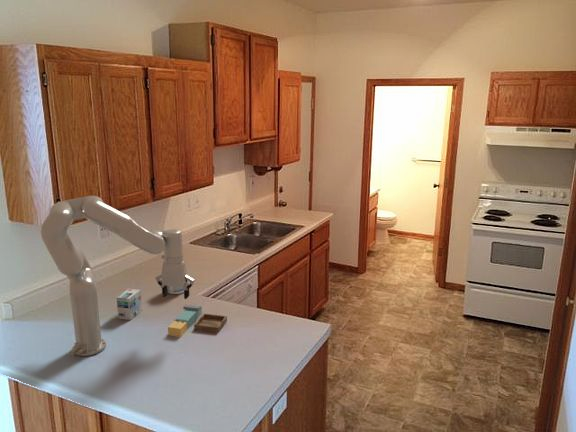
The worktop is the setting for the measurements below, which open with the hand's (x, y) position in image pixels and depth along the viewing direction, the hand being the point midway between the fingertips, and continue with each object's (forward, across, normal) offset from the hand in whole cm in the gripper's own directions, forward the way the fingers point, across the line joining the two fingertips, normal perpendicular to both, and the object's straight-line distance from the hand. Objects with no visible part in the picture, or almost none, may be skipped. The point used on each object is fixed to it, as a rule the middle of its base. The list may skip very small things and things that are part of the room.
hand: (176, 296), depth 197 cm
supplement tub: (+17, -19, +40) cm, 48 cm away
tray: (+17, +12, +9) cm, 22 cm away
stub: (+17, 0, -1) cm, 17 cm away
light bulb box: (+17, -29, +10) cm, 35 cm away
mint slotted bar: (+17, 0, +11) cm, 20 cm away
